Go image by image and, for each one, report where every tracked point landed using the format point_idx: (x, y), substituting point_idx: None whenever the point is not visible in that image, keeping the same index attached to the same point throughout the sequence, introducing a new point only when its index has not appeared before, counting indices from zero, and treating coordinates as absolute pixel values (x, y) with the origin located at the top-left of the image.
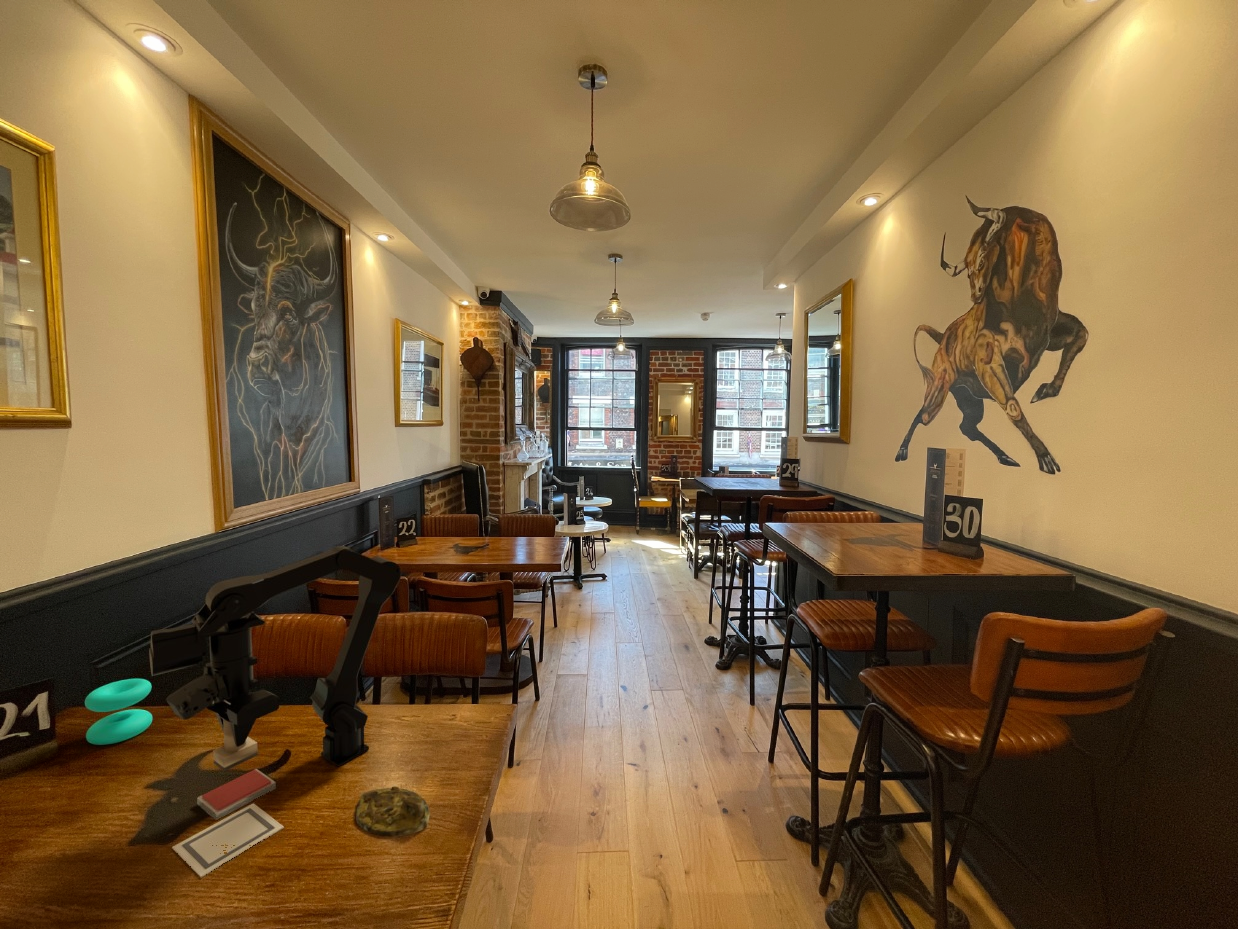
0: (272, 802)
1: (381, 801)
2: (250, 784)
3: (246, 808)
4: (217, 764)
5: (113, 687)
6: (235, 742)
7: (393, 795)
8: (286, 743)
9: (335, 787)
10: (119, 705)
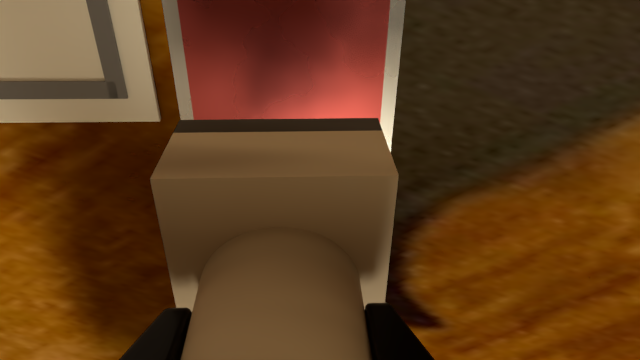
0: (112, 167)
1: None
2: None
3: (140, 89)
4: (307, 125)
5: None
6: (151, 343)
7: None
8: (481, 337)
9: (29, 316)
10: None
